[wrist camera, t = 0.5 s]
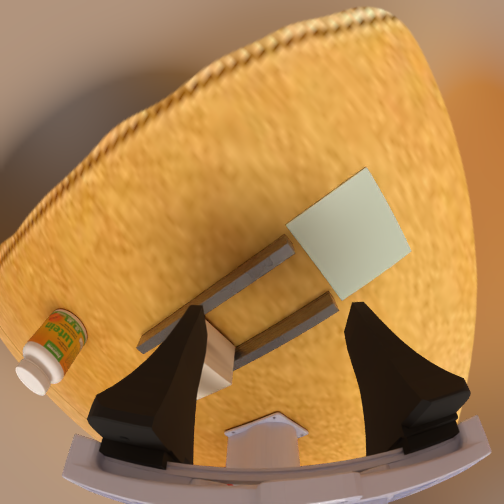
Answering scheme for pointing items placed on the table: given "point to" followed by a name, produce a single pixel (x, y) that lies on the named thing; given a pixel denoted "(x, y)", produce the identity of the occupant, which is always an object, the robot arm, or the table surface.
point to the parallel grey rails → (236, 283)
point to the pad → (351, 234)
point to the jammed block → (216, 363)
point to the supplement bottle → (51, 351)
